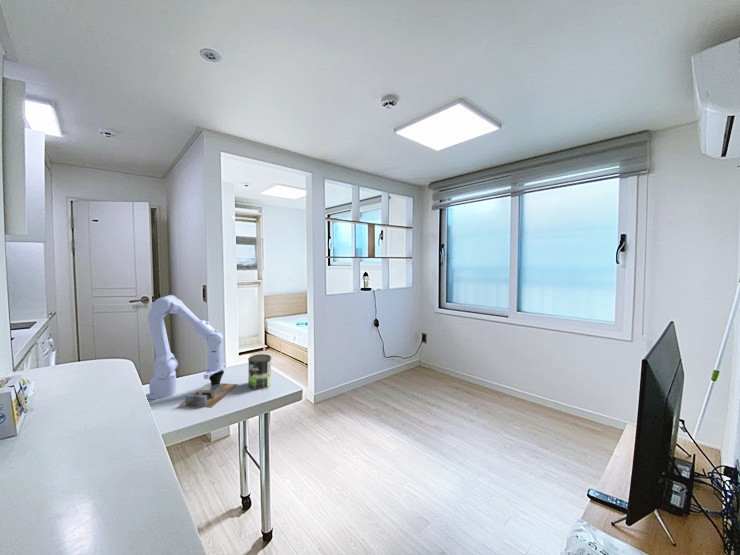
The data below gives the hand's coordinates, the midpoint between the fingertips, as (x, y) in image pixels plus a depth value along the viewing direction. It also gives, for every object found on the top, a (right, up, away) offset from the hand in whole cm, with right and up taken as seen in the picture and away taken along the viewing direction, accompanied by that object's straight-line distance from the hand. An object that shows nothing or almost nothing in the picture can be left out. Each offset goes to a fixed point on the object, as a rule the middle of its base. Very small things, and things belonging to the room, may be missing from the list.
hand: (215, 387), depth 137 cm
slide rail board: (0, -2, -4) cm, 4 cm away
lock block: (0, -1, -4) cm, 4 cm away
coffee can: (+17, -2, +7) cm, 19 cm away
